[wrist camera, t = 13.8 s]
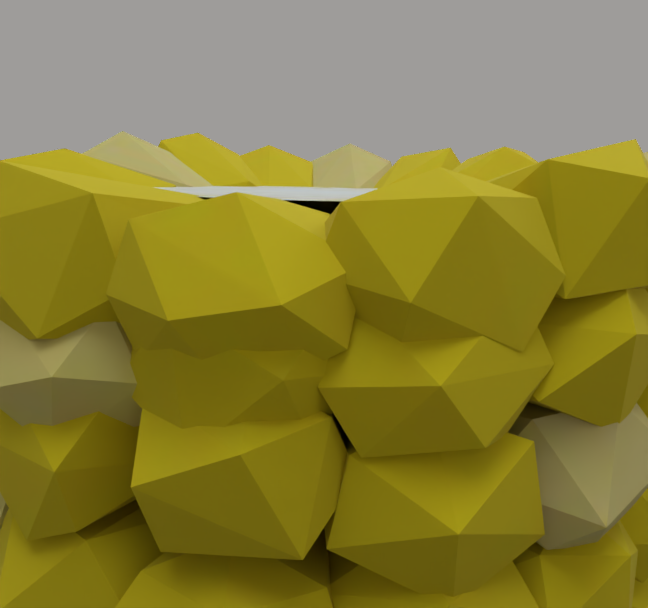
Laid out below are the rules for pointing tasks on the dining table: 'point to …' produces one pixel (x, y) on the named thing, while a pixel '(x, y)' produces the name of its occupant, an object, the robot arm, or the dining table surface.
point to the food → (323, 378)
